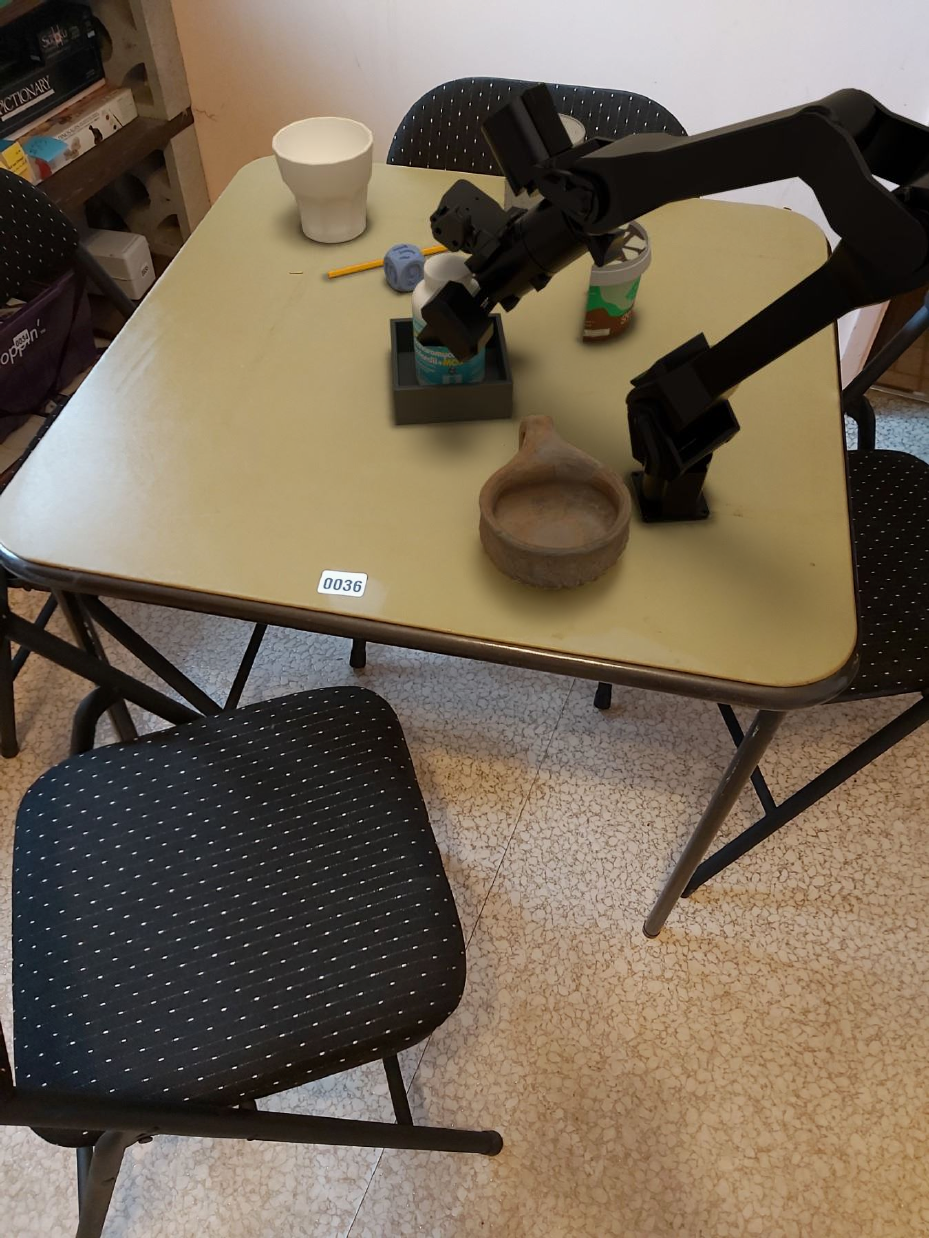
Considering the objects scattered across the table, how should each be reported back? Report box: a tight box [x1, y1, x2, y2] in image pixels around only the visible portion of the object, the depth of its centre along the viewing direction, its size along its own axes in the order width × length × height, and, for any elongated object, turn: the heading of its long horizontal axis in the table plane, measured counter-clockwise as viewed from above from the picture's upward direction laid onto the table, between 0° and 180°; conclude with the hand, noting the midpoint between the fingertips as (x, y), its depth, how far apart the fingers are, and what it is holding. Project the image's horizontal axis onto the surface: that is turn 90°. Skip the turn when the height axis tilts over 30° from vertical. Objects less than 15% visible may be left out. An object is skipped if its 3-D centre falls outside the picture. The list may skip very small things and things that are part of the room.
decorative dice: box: [382, 243, 427, 293], centre depth 102 cm, size 4×4×4 cm
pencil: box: [327, 244, 450, 279], centre depth 106 cm, size 1×18×1 cm, turn 113°
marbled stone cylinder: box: [503, 112, 586, 211], centre depth 106 cm, size 10×10×12 cm
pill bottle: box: [411, 252, 486, 385], centre depth 86 cm, size 8×7×14 cm
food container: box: [582, 219, 652, 343], centre depth 95 cm, size 12×6×10 cm, turn 168°
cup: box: [271, 116, 374, 244], centre depth 107 cm, size 12×12×11 cm
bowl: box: [478, 413, 633, 591], centre depth 75 cm, size 18×14×10 cm
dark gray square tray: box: [389, 312, 514, 426], centre depth 90 cm, size 12×12×4 cm
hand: (437, 320), depth 86 cm, fingers closed on pill bottle, 7 cm apart
